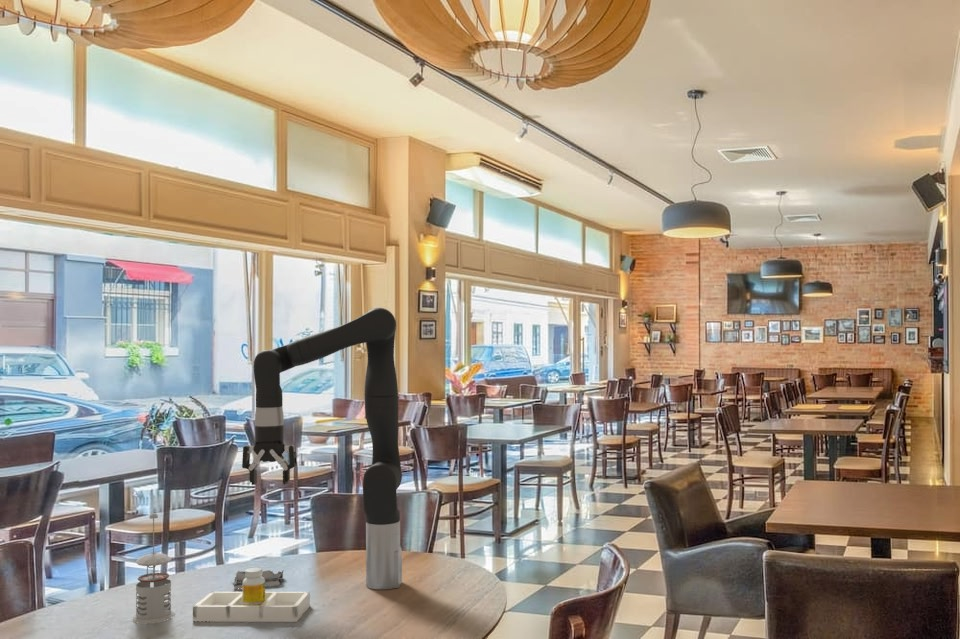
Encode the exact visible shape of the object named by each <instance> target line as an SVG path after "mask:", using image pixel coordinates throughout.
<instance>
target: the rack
mask: <svg viewBox="0 0 960 639" xmlns="http://www.w3.org/2000/svg"><path fill="white" fill-rule="evenodd" d="M310 593H311V592H310V591H265V601H264V602H263V603H262V604H261V605H260V606H247V605H242V591H211V592H209V593H208V594H207V595H206V596H204V597H203V598H202V599H201V600H199V601H198V602H197V603H195V605H193V606H192V622H194V621H195V622H197V621H199V622H202V621H203V622H204V623H205V621H207V622H208V623H210V622H211V623H212V622H213V623H214V622H215V623H216V622H217V623H219V622H220V623H224V622H225V623H226V622H227V623H232V622H234V623H235V622H236V623H241V622H242V623H243V622H244V623H248V622H249V623H251V622H252V623H297V622H298V621H299V620H300V619H301V617H302V616H303V615H304V614H305V613H306V611H307V610H308V609H309V608H310V607H311V598H310V597H311V594H310ZM209 621H210V622H209Z"/></svg>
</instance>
